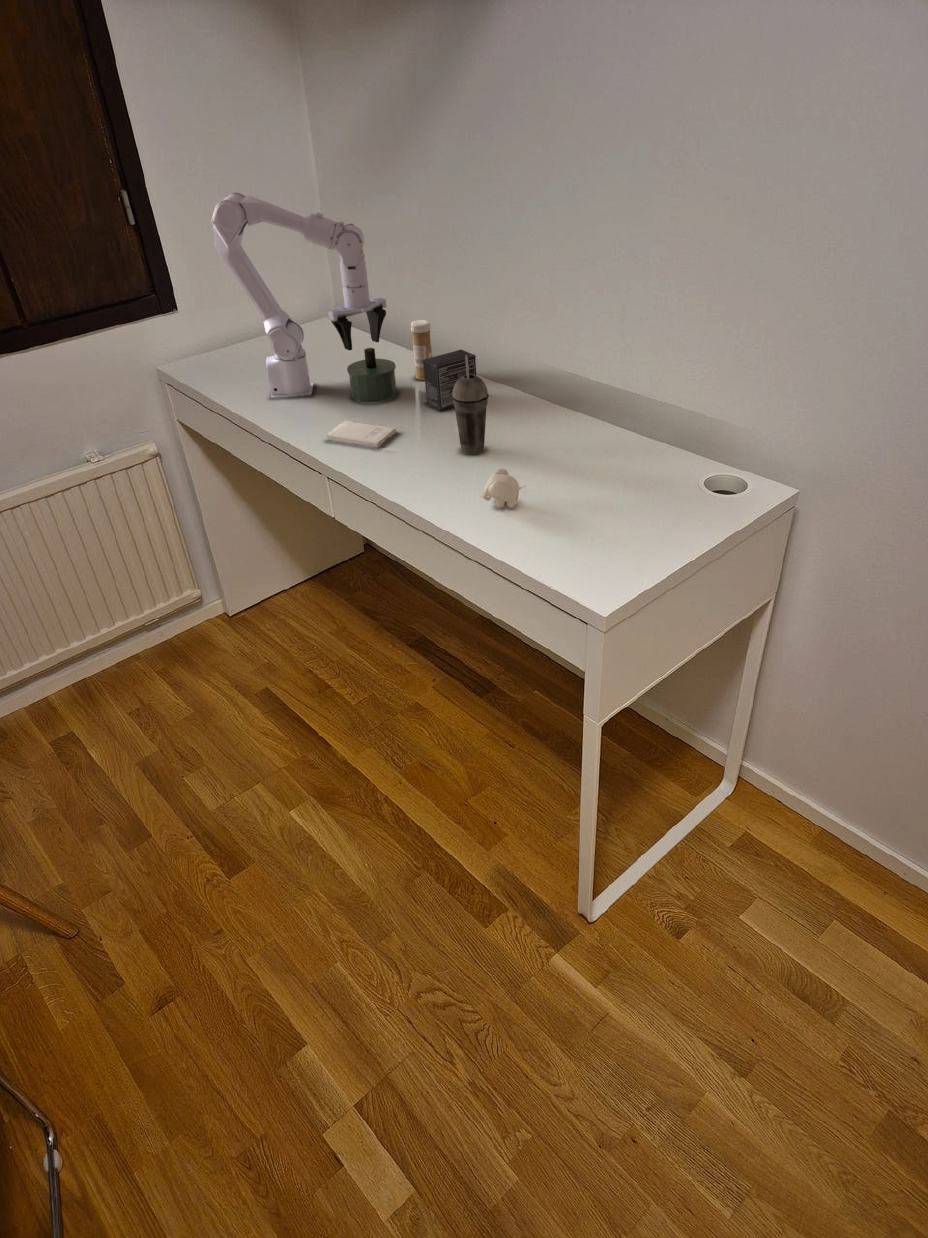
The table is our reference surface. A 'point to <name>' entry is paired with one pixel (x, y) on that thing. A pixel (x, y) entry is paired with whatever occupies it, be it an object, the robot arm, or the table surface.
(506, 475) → the elephant figurine
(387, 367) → the lid
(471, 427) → the beverage cup
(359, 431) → the hard drive
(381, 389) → the green faceted bucket
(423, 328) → the sprinkles bottle
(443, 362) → the small box
